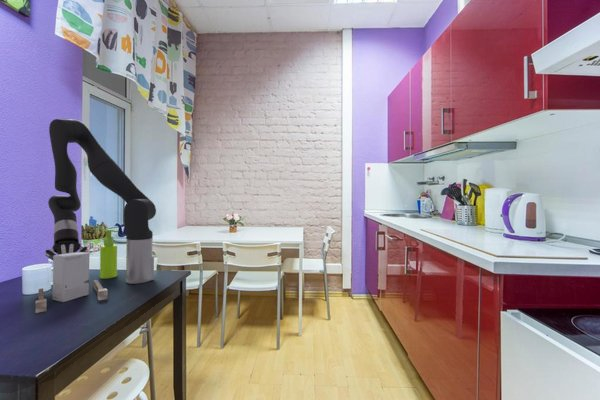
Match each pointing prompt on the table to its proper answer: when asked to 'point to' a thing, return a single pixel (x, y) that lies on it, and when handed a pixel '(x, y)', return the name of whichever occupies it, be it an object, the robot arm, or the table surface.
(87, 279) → the skincare box
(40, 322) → the table surface
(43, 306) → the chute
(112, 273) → the soap dispenser
